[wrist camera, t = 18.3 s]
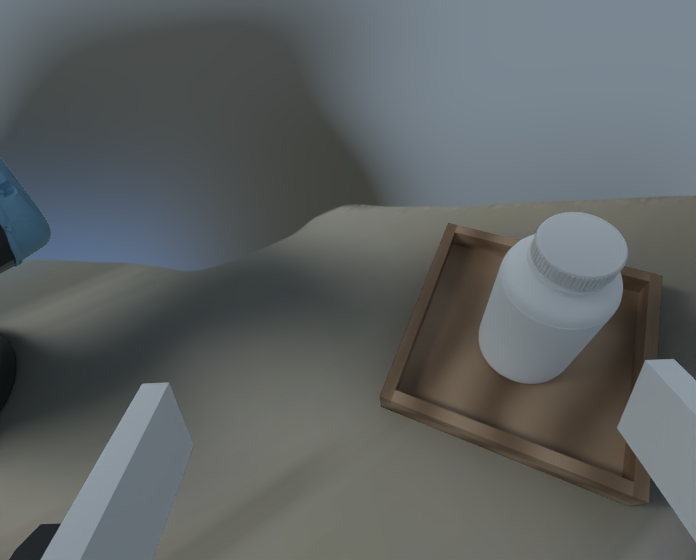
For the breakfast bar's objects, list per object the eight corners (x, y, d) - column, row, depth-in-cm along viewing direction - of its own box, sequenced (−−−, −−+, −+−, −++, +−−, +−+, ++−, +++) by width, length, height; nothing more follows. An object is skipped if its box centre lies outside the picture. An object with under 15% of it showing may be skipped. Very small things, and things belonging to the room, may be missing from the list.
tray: (381, 406, 37) (379, 396, 35) (445, 240, 46) (448, 222, 44) (628, 506, 31) (649, 502, 29) (646, 292, 40) (662, 275, 38)
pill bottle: (556, 304, 40) (628, 192, 27) (578, 386, 35) (677, 298, 23) (471, 306, 40) (503, 198, 28) (482, 386, 36) (527, 301, 24)
